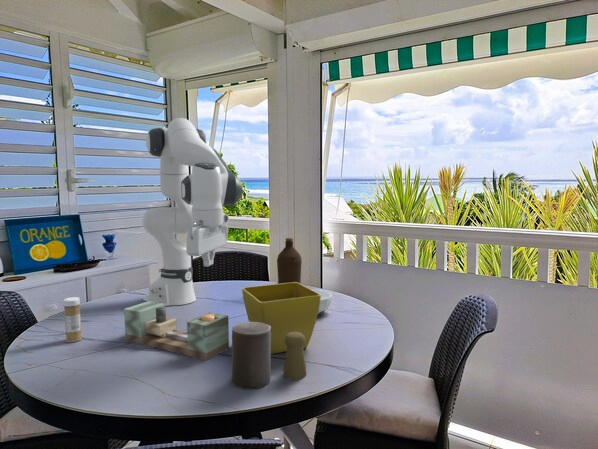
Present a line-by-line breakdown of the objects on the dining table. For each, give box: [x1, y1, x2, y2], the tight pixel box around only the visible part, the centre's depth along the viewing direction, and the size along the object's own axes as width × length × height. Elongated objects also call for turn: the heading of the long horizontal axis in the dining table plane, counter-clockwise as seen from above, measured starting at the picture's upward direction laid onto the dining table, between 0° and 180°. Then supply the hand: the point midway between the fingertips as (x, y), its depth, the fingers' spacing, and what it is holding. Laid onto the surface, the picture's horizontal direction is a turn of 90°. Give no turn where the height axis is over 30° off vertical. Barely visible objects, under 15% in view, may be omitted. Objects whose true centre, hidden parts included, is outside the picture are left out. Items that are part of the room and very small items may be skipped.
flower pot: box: [241, 282, 321, 354], centre depth 134 cm, size 19×19×17 cm
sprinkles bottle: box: [62, 296, 83, 343], centre depth 137 cm, size 5×5×14 cm
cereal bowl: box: [312, 289, 333, 315], centre depth 166 cm, size 17×17×7 cm
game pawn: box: [283, 332, 307, 381], centre depth 113 cm, size 6×6×11 cm
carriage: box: [146, 306, 178, 337], centre depth 137 cm, size 6×7×8 cm
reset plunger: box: [201, 313, 214, 322], centre depth 128 cm, size 4×4×4 cm
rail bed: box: [123, 301, 230, 361], centre depth 134 cm, size 33×10×10 cm, turn 61°
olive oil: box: [276, 237, 303, 284], centre depth 190 cm, size 11×11×25 cm
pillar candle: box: [231, 321, 272, 390], centre depth 110 cm, size 10×10×15 cm
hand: (208, 265), depth 130 cm, fingers closed
